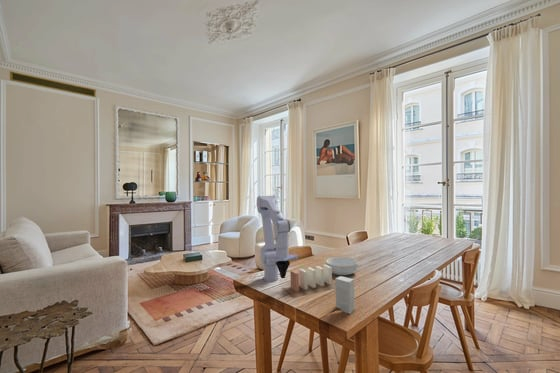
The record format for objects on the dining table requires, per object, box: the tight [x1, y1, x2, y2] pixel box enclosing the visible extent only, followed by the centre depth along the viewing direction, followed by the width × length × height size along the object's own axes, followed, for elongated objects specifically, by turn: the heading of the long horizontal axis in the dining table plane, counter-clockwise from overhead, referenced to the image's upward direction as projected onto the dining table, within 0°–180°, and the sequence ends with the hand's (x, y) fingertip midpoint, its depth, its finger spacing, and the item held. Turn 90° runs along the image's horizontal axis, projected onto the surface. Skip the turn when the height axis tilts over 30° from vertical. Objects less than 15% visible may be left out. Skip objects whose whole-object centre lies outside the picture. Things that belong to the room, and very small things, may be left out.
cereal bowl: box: [325, 256, 359, 276], centre depth 138 cm, size 17×17×7 cm
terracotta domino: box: [289, 269, 299, 292], centre depth 116 cm, size 2×5×8 cm, turn 25°
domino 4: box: [322, 264, 333, 285], centre depth 123 cm, size 2×5×8 cm, turn 24°
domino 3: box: [314, 265, 324, 286], centre depth 121 cm, size 2×5×8 cm, turn 24°
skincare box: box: [334, 275, 356, 315], centre depth 98 cm, size 6×4×12 cm
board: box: [282, 281, 336, 299], centre depth 117 cm, size 26×11×1 cm, turn 114°
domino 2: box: [306, 266, 316, 288], centre depth 119 cm, size 2×5×8 cm, turn 24°
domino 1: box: [298, 268, 308, 290], centre depth 117 cm, size 2×5×8 cm, turn 24°
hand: (282, 277), depth 113 cm, fingers closed
